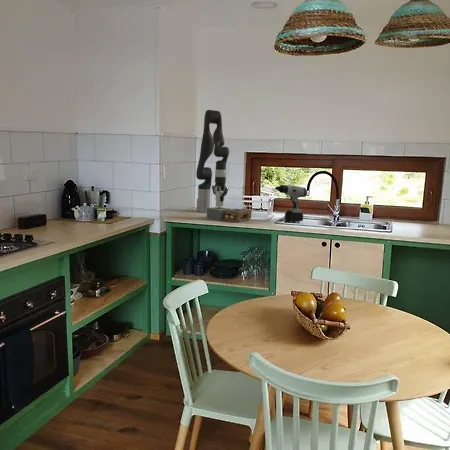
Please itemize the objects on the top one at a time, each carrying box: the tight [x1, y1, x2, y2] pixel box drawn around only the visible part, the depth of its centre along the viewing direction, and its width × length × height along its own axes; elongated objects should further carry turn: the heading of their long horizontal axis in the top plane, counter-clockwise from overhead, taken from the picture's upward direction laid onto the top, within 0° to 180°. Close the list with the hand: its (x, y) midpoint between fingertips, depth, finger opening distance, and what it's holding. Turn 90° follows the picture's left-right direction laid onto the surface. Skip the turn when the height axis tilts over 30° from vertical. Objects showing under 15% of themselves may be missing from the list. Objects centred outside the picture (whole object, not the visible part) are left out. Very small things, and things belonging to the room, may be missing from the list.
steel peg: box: [215, 191, 224, 209], centre depth 331 cm, size 4×4×15 cm
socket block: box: [224, 208, 250, 223], centre depth 327 cm, size 12×12×7 cm
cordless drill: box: [274, 184, 308, 222], centre depth 336 cm, size 8×24×25 cm, turn 115°
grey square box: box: [206, 206, 230, 221], centre depth 332 cm, size 12×12×7 cm
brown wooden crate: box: [225, 208, 253, 220], centre depth 328 cm, size 19×8×6 cm, turn 139°
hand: (219, 201), depth 331 cm, fingers closed on steel peg, 3 cm apart
